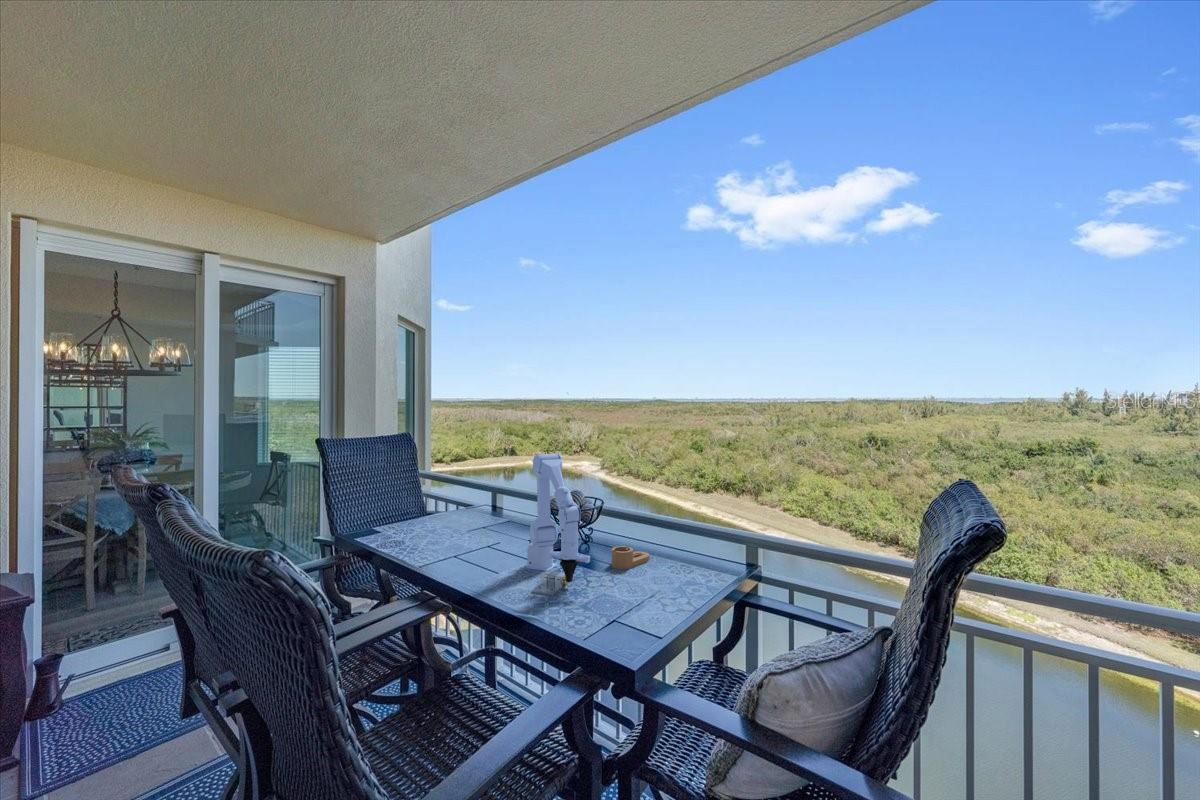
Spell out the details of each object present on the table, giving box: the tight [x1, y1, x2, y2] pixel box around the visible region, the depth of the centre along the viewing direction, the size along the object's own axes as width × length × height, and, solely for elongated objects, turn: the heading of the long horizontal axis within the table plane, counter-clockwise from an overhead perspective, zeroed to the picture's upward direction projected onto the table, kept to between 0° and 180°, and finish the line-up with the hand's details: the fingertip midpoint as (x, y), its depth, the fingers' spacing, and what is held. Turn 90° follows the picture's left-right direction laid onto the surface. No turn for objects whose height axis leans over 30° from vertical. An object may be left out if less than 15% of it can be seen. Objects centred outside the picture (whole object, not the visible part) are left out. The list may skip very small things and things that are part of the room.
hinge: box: [531, 570, 575, 597], centre depth 165 cm, size 8×16×4 cm, turn 159°
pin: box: [562, 578, 569, 587], centre depth 165 cm, size 9×2×2 cm, turn 69°
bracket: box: [611, 545, 650, 570], centre depth 188 cm, size 18×8×7 cm, turn 134°
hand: (569, 581), depth 163 cm, fingers closed
